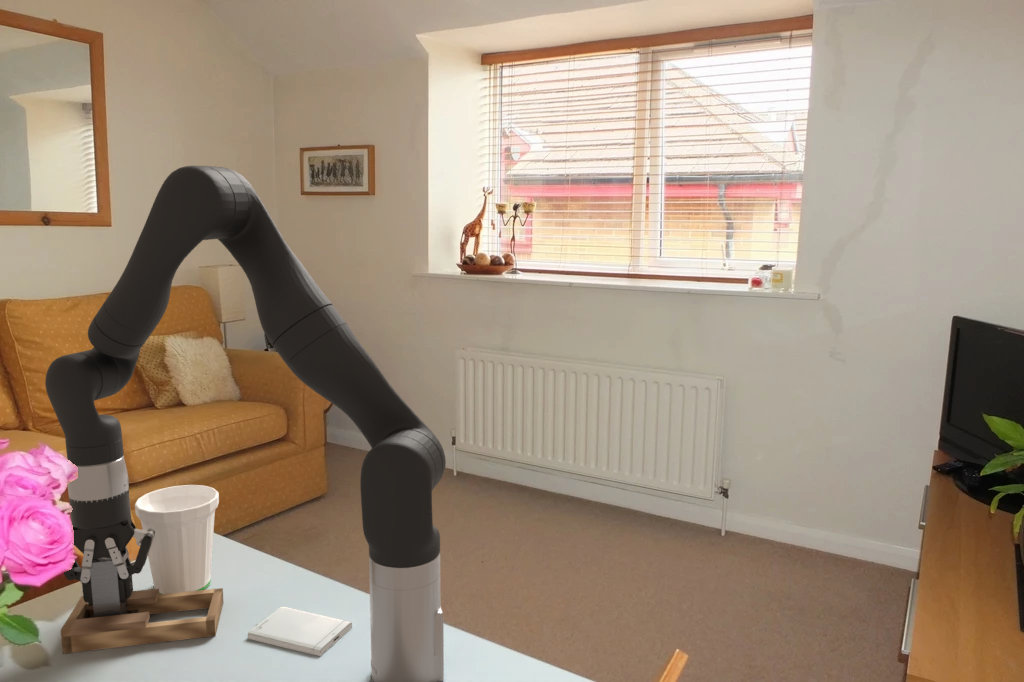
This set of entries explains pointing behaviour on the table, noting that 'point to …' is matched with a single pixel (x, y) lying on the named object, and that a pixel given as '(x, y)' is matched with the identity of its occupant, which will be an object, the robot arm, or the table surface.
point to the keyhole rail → (142, 621)
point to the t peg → (106, 589)
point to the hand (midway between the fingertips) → (109, 601)
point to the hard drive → (300, 630)
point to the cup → (180, 536)
